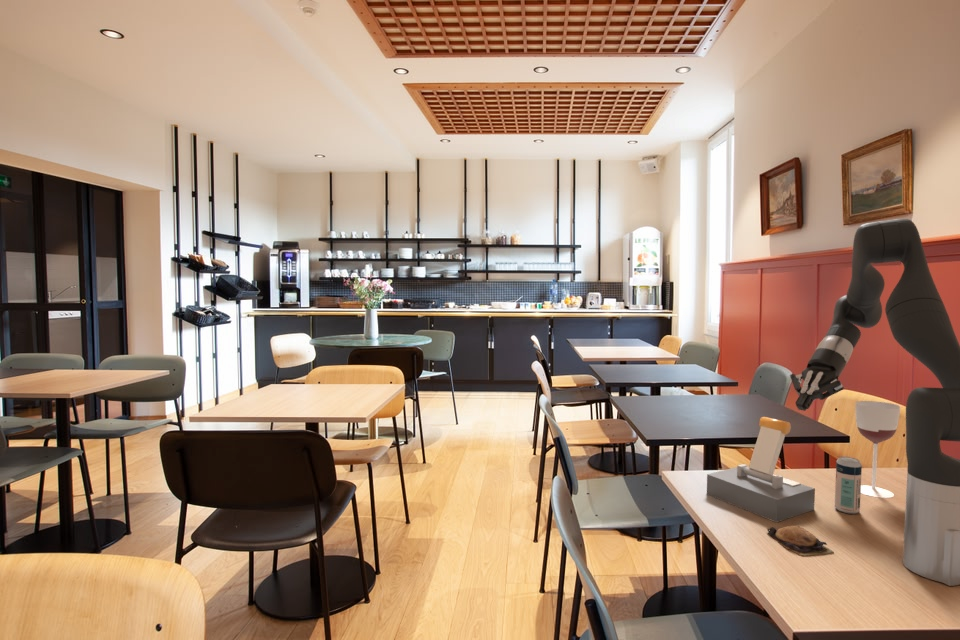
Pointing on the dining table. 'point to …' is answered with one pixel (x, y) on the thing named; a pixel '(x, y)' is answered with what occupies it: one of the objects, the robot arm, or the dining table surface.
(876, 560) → the dining table surface
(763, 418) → the breaker lever
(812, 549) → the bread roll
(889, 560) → the dining table surface
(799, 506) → the block
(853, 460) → the beer can
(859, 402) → the wineglass
